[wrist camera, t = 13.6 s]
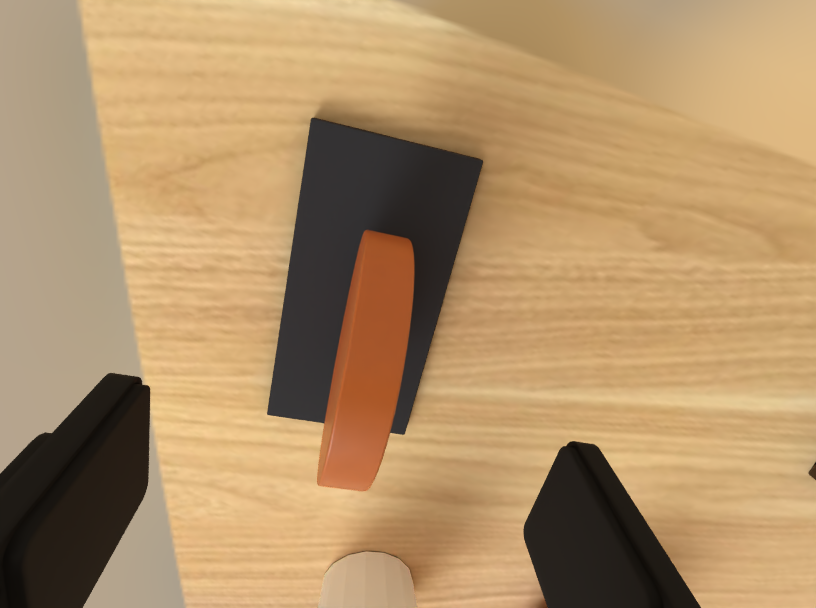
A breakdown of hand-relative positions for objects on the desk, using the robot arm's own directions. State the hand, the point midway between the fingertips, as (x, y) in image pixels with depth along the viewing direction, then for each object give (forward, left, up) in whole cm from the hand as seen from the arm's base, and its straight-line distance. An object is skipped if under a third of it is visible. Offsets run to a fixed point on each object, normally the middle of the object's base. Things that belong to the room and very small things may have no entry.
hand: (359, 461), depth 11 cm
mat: (+1, 0, -12) cm, 12 cm away
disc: (+1, 0, -11) cm, 11 cm away
